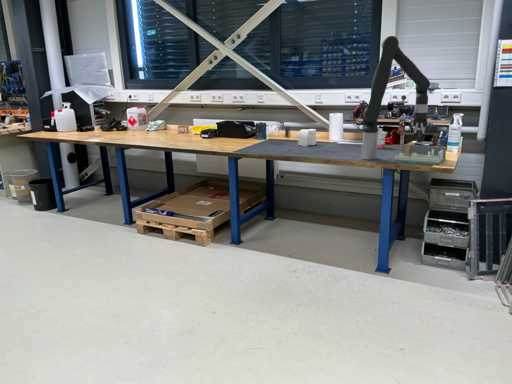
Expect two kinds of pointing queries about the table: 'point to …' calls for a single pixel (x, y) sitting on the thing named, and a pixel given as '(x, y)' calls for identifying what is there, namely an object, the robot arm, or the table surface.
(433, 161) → the translucent green rectangular tray
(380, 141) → the ink cartridge box
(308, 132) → the light grey block
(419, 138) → the striker
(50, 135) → the table surface
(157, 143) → the table surface
